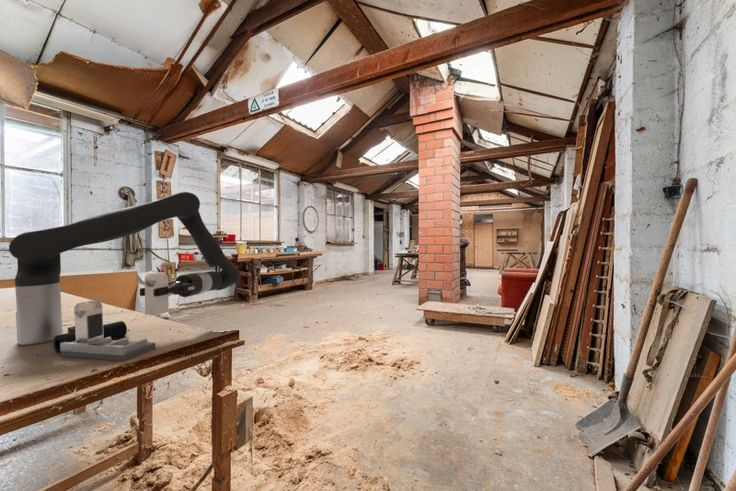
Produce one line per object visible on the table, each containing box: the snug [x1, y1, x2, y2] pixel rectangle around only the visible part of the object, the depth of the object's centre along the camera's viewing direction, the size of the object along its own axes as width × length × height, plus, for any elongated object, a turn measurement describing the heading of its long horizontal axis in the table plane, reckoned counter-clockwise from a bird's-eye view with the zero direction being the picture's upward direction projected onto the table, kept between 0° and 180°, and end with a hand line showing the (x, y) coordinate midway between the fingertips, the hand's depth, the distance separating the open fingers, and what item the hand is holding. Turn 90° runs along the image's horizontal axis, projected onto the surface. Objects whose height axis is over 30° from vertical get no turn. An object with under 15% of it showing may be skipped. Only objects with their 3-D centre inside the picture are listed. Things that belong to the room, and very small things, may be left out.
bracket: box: [60, 299, 156, 362], centre depth 80 cm, size 20×9×14 cm, turn 78°
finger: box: [144, 271, 170, 316], centre depth 88 cm, size 4×4×12 cm
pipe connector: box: [52, 320, 128, 355], centre depth 89 cm, size 12×5×15 cm
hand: (147, 292), depth 86 cm, fingers closed on finger, 4 cm apart
